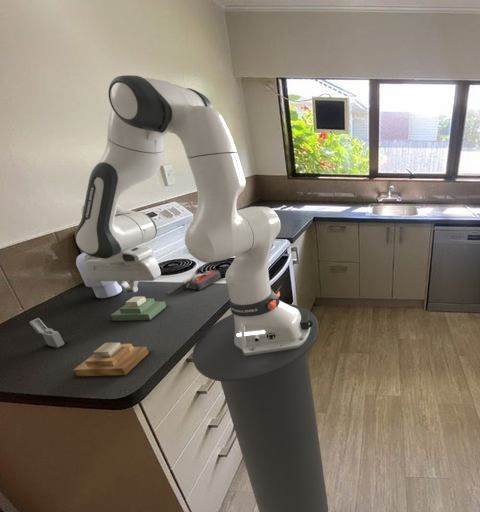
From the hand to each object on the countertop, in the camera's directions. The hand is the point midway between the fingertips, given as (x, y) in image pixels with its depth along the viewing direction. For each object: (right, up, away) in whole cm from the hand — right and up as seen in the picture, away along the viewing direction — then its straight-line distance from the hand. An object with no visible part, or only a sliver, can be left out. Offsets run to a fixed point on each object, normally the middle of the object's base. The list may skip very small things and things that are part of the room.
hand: (132, 291), depth 94 cm
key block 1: (0, -8, +3) cm, 9 cm away
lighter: (-13, -14, -11) cm, 22 cm away
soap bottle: (-22, -3, +16) cm, 27 cm away
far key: (0, -5, +2) cm, 5 cm away
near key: (+12, -14, -20) cm, 27 cm away
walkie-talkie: (+8, -1, +21) cm, 22 cm away
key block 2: (+12, -17, -19) cm, 28 cm away
